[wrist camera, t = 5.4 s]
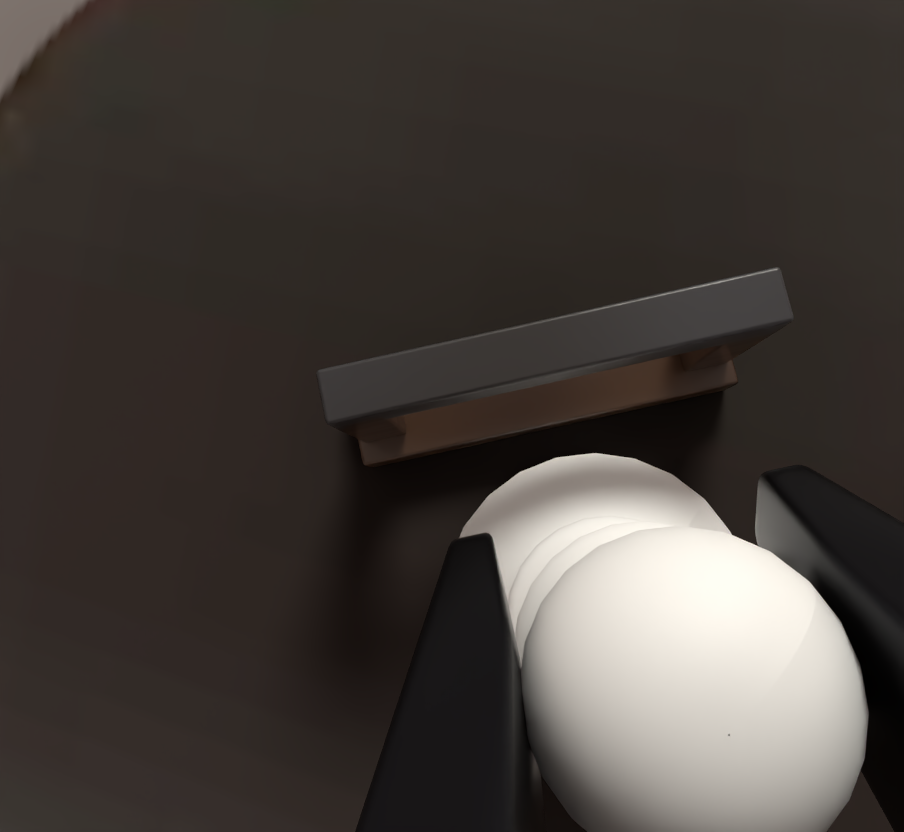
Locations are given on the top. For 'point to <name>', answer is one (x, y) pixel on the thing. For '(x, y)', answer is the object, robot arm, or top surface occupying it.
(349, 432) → the low rail
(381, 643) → the top surface
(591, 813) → the chess pawn
